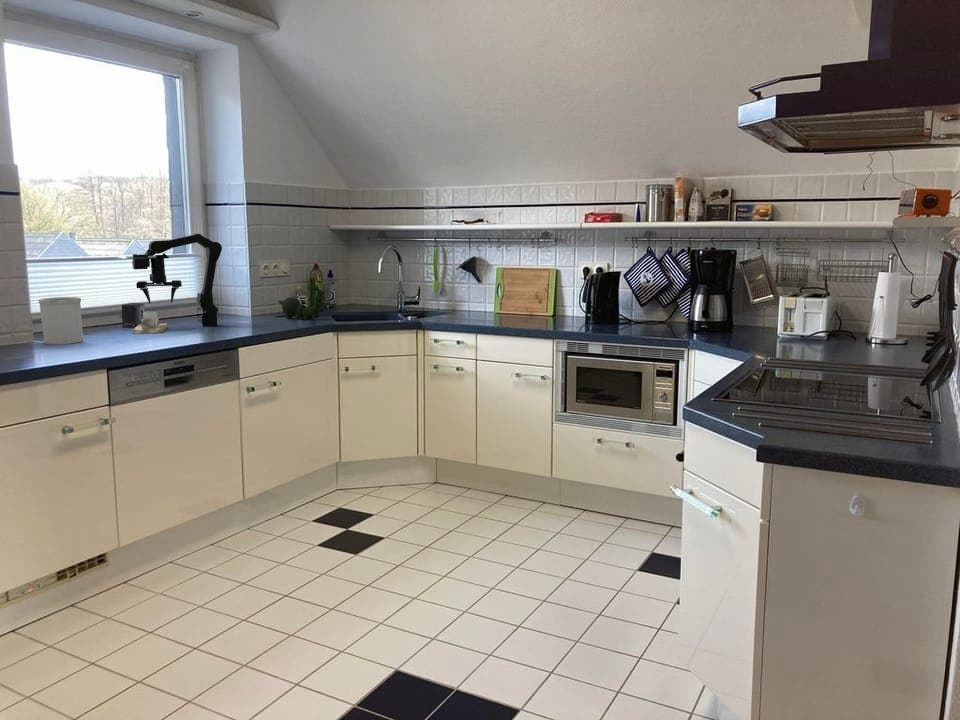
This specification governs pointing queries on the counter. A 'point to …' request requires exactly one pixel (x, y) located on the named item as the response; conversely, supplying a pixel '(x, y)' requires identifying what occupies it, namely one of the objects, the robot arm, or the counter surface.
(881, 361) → the counter surface
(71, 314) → the utensil holder
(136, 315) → the small box
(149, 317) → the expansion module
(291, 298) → the toy figurine
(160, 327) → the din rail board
